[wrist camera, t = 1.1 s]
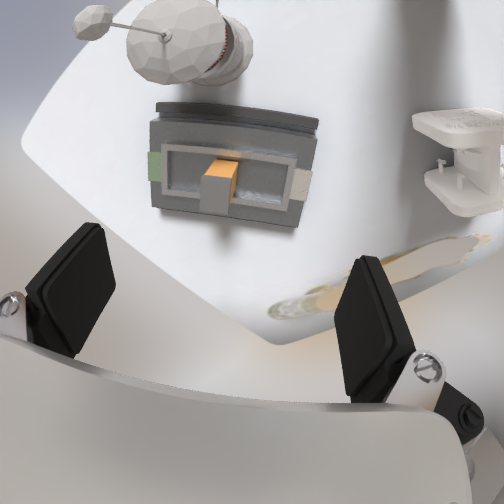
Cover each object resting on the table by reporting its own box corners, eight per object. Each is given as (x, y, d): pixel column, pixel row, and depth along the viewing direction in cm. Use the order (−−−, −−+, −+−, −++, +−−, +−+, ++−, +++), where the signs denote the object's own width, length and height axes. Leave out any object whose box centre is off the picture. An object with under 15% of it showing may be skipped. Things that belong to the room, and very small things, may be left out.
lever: (214, 158, 32) (200, 177, 27) (239, 161, 32) (230, 181, 27) (212, 187, 34) (199, 210, 29) (236, 190, 34) (227, 214, 29)
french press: (168, 82, 30) (11, 127, 9) (183, 1, 23) (42, -60, 3) (245, 91, 30) (171, 132, 10) (263, 7, 23) (227, -107, 3)
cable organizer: (413, 182, 34) (452, 224, 25) (404, 109, 28) (450, 129, 19) (489, 168, 30) (533, 202, 21) (486, 102, 25) (538, 123, 15)
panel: (157, 117, 32) (144, 122, 29) (316, 134, 32) (320, 141, 29) (158, 197, 39) (147, 210, 36) (298, 216, 39) (299, 231, 36)
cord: (159, 101, 31) (156, 103, 30) (317, 118, 31) (318, 120, 30) (159, 110, 32) (155, 112, 31) (315, 127, 32) (317, 129, 31)
